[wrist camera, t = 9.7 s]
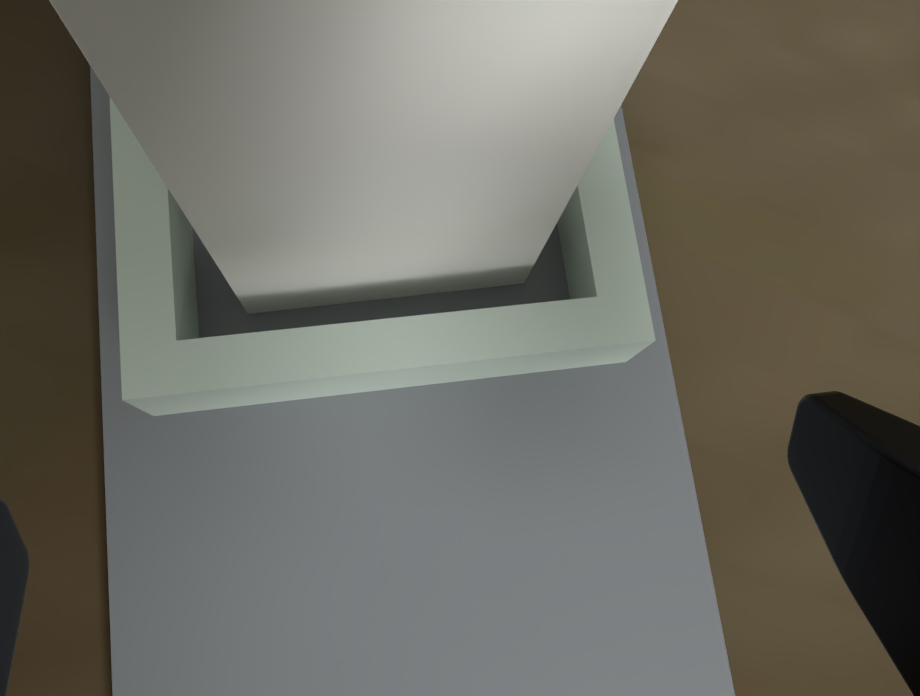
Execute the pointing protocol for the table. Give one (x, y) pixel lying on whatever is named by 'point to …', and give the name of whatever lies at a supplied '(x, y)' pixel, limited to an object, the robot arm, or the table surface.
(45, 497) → the table surface
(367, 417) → the docking stand
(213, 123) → the slim case
